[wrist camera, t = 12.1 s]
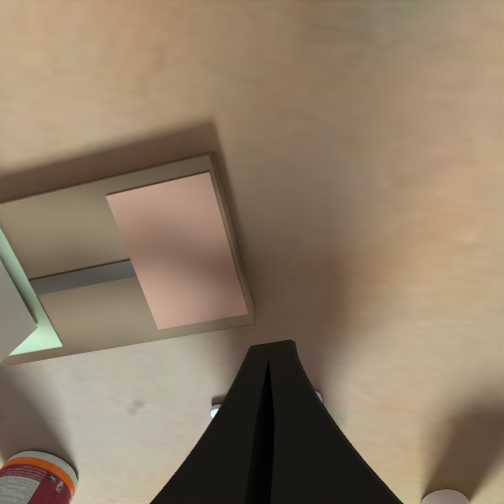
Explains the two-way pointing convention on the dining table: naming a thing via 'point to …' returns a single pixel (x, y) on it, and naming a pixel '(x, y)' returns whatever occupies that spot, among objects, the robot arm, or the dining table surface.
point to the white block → (12, 316)
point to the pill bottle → (36, 479)
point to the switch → (125, 260)
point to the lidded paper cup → (445, 497)
